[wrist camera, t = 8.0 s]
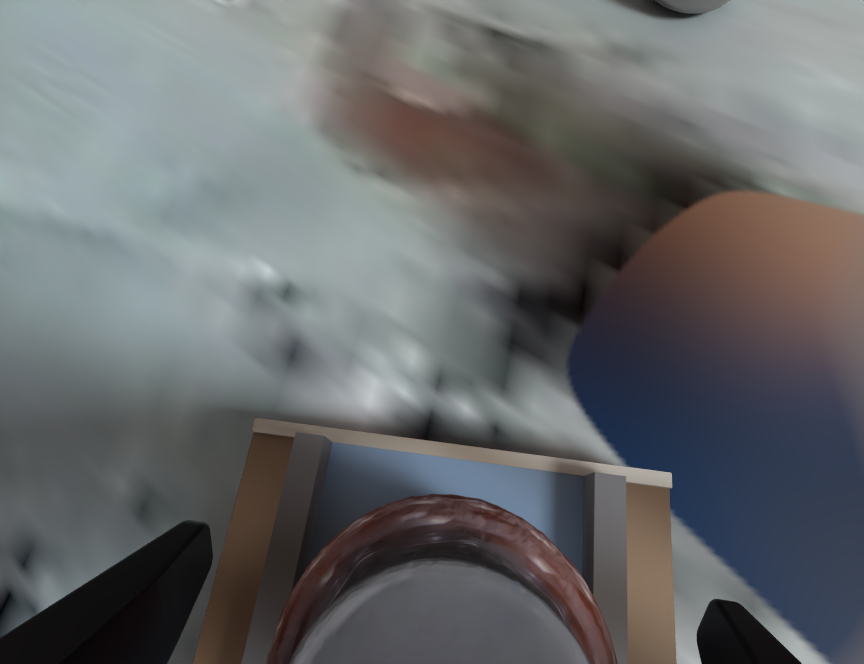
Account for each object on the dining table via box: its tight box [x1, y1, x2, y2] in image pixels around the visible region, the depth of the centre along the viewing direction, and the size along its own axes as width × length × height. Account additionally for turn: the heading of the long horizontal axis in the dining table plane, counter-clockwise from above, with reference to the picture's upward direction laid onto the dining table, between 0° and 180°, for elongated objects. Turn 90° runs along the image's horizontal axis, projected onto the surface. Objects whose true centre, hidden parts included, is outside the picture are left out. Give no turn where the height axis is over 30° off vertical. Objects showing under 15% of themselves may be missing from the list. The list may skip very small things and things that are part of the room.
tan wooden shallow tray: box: [193, 418, 676, 664], centre depth 16 cm, size 13×15×4 cm
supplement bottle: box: [266, 494, 617, 664], centre depth 11 cm, size 6×6×11 cm
